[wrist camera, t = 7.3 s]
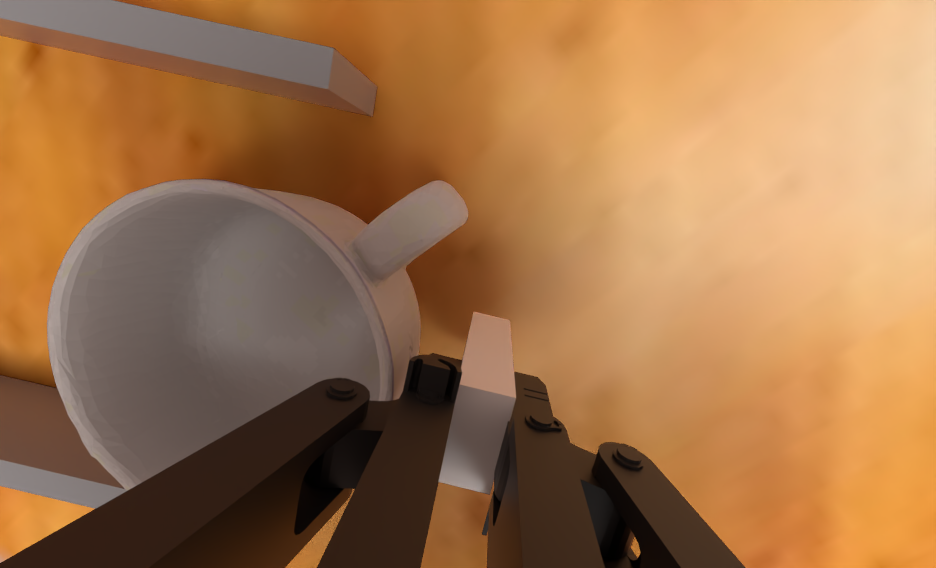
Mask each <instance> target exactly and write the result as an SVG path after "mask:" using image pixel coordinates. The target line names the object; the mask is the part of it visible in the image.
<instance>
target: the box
mask: <svg viewBox="0 0 936 568" xmlns="http://www.w3.org/2000/svg"><path fill="white" fill-rule="evenodd" d="M0 35H1V36H5V37H10V38H14V39H19V40H24V41H28V42H33V43H37V44H42V45H46V46H51V47H56V48H60V49H65V50H69V51H74V52H79V53H83V54H88V55H92V56H97V57H101V58H106V59H111V60H115V61H120V62H124V63H129V64H134V65H138V66H143V67H147V68H152V69H156V70H161V71H166V72H170V73H175V74H179V75H184V76H189V77H193V78H198V79H202V80H207V81H212V82H216V83H221V84H225V85H230V86H234V87H239V88H244V89H248V90H253V91H257V92H262V93H267V94H271V95H276V96H280V97H285V98H289V99H294V100H299V101H303V102H308V103H312V104H317V105H322V106H326V107H331V108H335V109H340V110H344V111H349V112H354V113H358V114H363V115H367V116H372V117H373V111H374V105H375V98H376V92H377V86H376V85H375V84H374V83H373V82H371V81H370V80H369V79H368V78H367V77H366V76H365V75H364V74H362V73H361V72H360V71H359V70H358V69H357V68H356V67H355V66H353V65H352V64H351V63H350V62H349V61H348V60H347V59H346V58H345V57H343V56H342V55H341V54H340V53H339V52H338V51H337V50H336V49H334V48H332V47H327V46H322V45H318V44H313V43H308V42H304V41H299V40H294V39H290V38H285V37H280V36H276V35H271V34H267V33H262V32H257V31H253V30H248V29H243V28H239V27H234V26H229V25H225V24H220V23H216V22H211V21H206V20H202V19H197V18H192V17H188V16H183V15H178V14H174V13H169V12H164V11H160V10H155V9H151V8H146V7H141V6H137V5H132V4H127V3H123V2H118V1H113V0H0ZM0 486H3V487H7V488H11V489H15V490H20V491H24V492H28V493H32V494H36V495H41V496H45V497H49V498H53V499H57V500H62V501H66V502H70V503H74V504H78V505H83V506H87V507H91V508H95V509H96V508H98V507H100V506H101V505H103V504H105V503H107V502H108V501H110V500H112V499H114V498H115V497H117V496H119V495H121V494H123V493H124V492H126V491H127V490H126V489H125V488H124V487H123V486H122V485H121V484H120V483H119V482H118V481H117V480H116V479H115V478H114V477H113V476H112V475H111V474H110V473H109V472H108V471H107V470H106V469H105V468H104V467H103V466H102V465H101V464H100V462H99V461H98V460H97V459H96V458H94V457H92V456H91V455H90V453H89V452H88V450H87V448H86V447H85V445H84V444H83V442H82V440H81V438H80V435H79V433H78V431H77V429H76V427H75V426H74V424H73V423H72V421H71V419H70V418H69V416H68V414H67V411H66V408H65V406H64V403H63V401H62V398H61V396H60V394H59V391H58V389H57V388H53V387H49V386H45V385H40V384H36V383H32V382H27V381H23V380H19V379H15V378H10V377H6V376H2V375H0Z"/></svg>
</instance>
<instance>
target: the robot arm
mask: <svg viewBox="0 0 936 568" xmlns="http://www.w3.org/2000/svg"><path fill="white" fill-rule="evenodd" d="M547 394H548V393H547V389H546V386H545V385H544V383H543V382H542V381H541V380H540V379H539V378H538V377H534V376H530V375H526V374H522V373H518V372H514V364H513V352H512V339H511V327H510V320H508V319H503V318H499V317H495V316H491V315H487V314H482V313H478V312H473V316H472V321H471V325H470V329H469V333H468V337H467V342H466V346H465V350H464V354H463V358H462V360H458V359H454V358H450V357H446V356H442V355H438V354H434V353H432V354H430V355H418V356H414V357H412V358H411V359H410V360H409V364H408V369H407V374H406V378H405V383H404V388H403V392H402V394H401V396H400V398H399V399H396V400H391V401H371V400H370V391H369V390H368V389H367V388H366V387H365V386H364V385H362V384H361V383H359V382H357V381H353V380H350V379H347V378H343V379H342V378H333V379H325V380H323V381H320V382H317V383H316V384H314V385H312V386H310V387H308V388H307V389H305V390H303V391H301V392H300V393H298V394H296V395H294V396H293V397H291V398H289V399H287V400H286V401H284V402H282V403H280V404H279V405H277V406H275V407H273V408H272V409H270V410H268V411H266V412H265V413H263V414H261V415H259V416H258V417H256V418H254V419H252V420H251V421H249V422H247V423H245V424H244V425H242V426H240V427H238V428H237V429H235V430H233V431H231V432H230V433H228V434H226V435H224V436H223V437H221V438H219V439H217V440H216V441H214V442H212V443H210V444H208V445H207V446H205V447H203V448H201V449H200V450H198V451H196V452H194V453H193V454H191V455H189V456H187V457H186V458H184V459H182V460H180V461H179V462H177V463H175V464H173V465H172V466H170V467H168V468H166V469H165V470H163V471H161V472H159V473H158V474H156V475H154V476H152V477H151V478H149V479H147V480H145V481H144V482H142V483H140V484H138V485H137V486H135V487H133V488H131V489H130V490H128V491H126V492H124V493H123V494H121V495H119V496H117V497H115V498H114V499H112V500H110V501H108V502H107V503H105V504H103V505H101V506H100V507H98V508H96V509H94V510H93V511H91V512H89V513H87V514H86V515H84V516H82V517H80V518H79V519H77V520H75V521H73V522H72V523H70V524H68V525H66V526H65V527H63V528H61V529H59V530H58V531H56V532H54V533H52V534H51V535H49V536H47V537H45V538H44V539H42V540H40V541H38V542H37V543H35V544H33V545H31V546H30V547H28V548H26V549H24V550H22V551H21V552H19V553H17V554H15V555H14V556H12V557H10V558H8V559H7V560H5V561H3V562H1V563H0V568H285V567H286V566H287V565H288V564H289V563H290V561H291V560H292V559H293V558H294V557H295V556H296V555H297V554H298V553H299V552H300V551H301V550H302V548H303V547H304V546H305V545H306V544H307V543H308V542H309V541H310V540H311V539H312V538H313V537H314V535H315V534H316V533H317V532H318V531H319V530H320V529H321V528H322V527H323V526H324V525H325V523H326V522H327V521H328V520H329V519H330V518H331V517H332V516H333V515H334V514H335V513H336V512H337V510H338V509H339V508H340V507H341V506H342V505H343V504H344V503H345V502H346V501H347V500H348V498H349V496H350V494H351V493H352V489H355V490H354V492H353V495H352V497H351V499H350V501H349V503H348V505H347V507H346V509H345V511H344V513H343V515H342V517H341V519H340V521H339V523H338V525H337V527H336V530H335V532H334V534H333V536H332V538H331V540H330V542H329V544H328V546H327V548H326V550H325V552H324V554H323V556H322V558H321V560H320V563H319V565H318V567H317V568H420V567H421V562H422V557H423V553H424V548H425V543H426V538H427V534H428V529H429V524H430V519H431V515H432V510H433V505H434V500H435V496H436V491H437V486H438V482H441V483H445V484H449V485H453V486H457V487H461V488H465V489H469V490H473V491H477V492H481V493H485V494H489V495H490V492H491V489H492V485H493V481H494V491H493V495H492V499H491V502H490V506H489V510H488V513H487V517H486V521H485V524H484V528H483V531H482V535H487V532H488V551H487V568H745V567H744V565H743V564H742V563H741V562H740V561H739V560H738V559H737V557H736V556H735V555H734V554H733V553H732V552H731V551H730V549H729V548H728V547H727V546H726V545H725V544H724V543H723V542H722V540H721V539H720V538H719V537H718V536H717V535H716V534H715V532H714V531H713V530H712V529H711V528H710V527H709V526H708V524H707V523H706V522H705V521H704V520H703V519H702V518H701V517H700V515H699V514H698V513H697V512H696V511H695V510H694V509H693V507H692V506H691V505H690V504H689V503H688V502H687V501H686V499H685V498H684V497H683V496H682V495H681V494H680V493H679V491H678V490H677V489H676V488H675V487H674V486H673V485H672V484H671V482H670V481H669V480H668V479H667V478H666V477H665V476H664V474H663V473H662V472H661V471H660V470H659V469H658V468H657V466H656V465H655V464H654V463H653V462H652V461H651V460H650V459H649V458H647V457H646V456H645V455H644V454H642V453H640V452H639V451H637V449H635V448H633V447H631V446H630V447H629V446H628V445H626V444H619V443H614V442H606V443H603V444H601V445H600V446H599V449H598V452H597V455H595V454H593V453H590V452H588V451H586V450H583V449H581V448H579V447H577V446H575V445H573V444H572V443H570V441H569V437H568V434H567V430H566V428H565V427H564V425H563V424H562V423H561V422H560V421H559V420H558V419H556V418H554V417H553V415H552V410H551V406H550V402H549V398H548V395H547ZM634 537H636V539H637V542H638V544H639V547H640V552H641V553H640V556H639V557H638V558H637V557H636V555H635V554H634V552H633V551H632V549H631V545H632V542H633V539H634Z"/></svg>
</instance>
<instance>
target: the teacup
mask: <svg viewBox="0 0 936 568" xmlns="http://www.w3.org/2000/svg"><path fill="white" fill-rule="evenodd" d="M467 219H468V209H467V207H466V204H465V202H464V200H463V198H462V197H461V196H460V195H459V193H458V192H457V191H456V190H455V189H454V187H453V186H452V185H450V184H448V183H446V182H445V181H441V180H437V181H432V182H430V183H428V184H426V185H424V186H422V187H420V188H418V189H416V190H414V191H413V192H411V193H410V194H408V195H407V196H405V197H404V198H402V199H401V200H399V201H398V202H396V203H395V204H394V205H392V206H391V207H389V208H388V209H387V210H385V211H384V212H382V213H381V214H380V215H379V216H377V217H376V218H375V219H374V220H373V221H372V222H371V223H369V224H366V223H365V222H364V221H362V220H361V219H360V218H358V217H357V216H355V215H354V214H352V213H350V212H348V211H346V210H344V209H342V208H340V207H338V206H336V205H334V204H331V203H328V202H325V201H322V200H319V199H316V198H313V197H309V196H305V195H299V194H293V193H287V192H282V191H275V190H266V189H257V188H251V187H248V186H244V185H241V184H237V183H232V182H228V181H224V180H212V179H189V180H175V181H168V182H163V183H160V184H156V185H153V186H150V187H147V188H144V189H141V190H138V191H135V192H133V193H130V194H127V195H125V196H123V197H122V198H120V199H118V200H117V201H115V202H114V203H112V204H110V205H109V206H107V207H106V208H105V209H103V210H102V211H101V212H100V213H98V214H97V215H96V216H95V217H94V218H93V219H92V220H91V221H90V222H89V223H88V224H87V225H86V226H85V227H84V228H83V229H82V230H81V231H80V233H79V234H78V236H77V237H76V238H75V240H74V241H73V243H72V245H71V246H70V248H69V249H68V251H67V253H66V255H65V257H64V259H63V261H62V263H61V265H60V268H59V270H58V273H57V276H56V278H55V281H54V284H53V287H52V292H51V298H50V303H49V307H48V320H47V336H48V348H49V358H50V362H51V367H52V371H53V375H54V379H55V383H56V386H57V389H58V391H59V394H60V396H61V398H62V401H63V403H64V406H65V408H66V411H67V414H68V416H69V418H70V419H71V421H72V423H73V424H74V426H75V427H76V429H77V431H78V433H79V435H80V438H81V440H82V442H83V444H84V445H85V447H86V448H87V450H88V452H89V453H90V455H91V456H92V457H94V458H96V459H97V460H98V461H99V462H100V464H101V465H102V466H103V467H104V468H105V469H106V470H107V471H108V472H109V473H110V474H111V475H112V476H113V477H114V478H115V479H116V480H117V481H118V482H119V483H120V484H121V485H122V486H123V487H124V488H125V489H126V490H127V491H128V490H130V489H131V488H133V487H135V486H137V485H138V484H140V483H142V482H144V481H145V480H147V479H149V478H151V477H152V476H154V475H156V474H158V473H159V472H161V471H163V470H165V469H166V468H168V467H170V466H172V465H173V464H175V463H177V462H179V461H180V460H182V459H184V458H186V457H187V456H189V455H191V454H193V453H194V452H196V451H198V450H200V449H201V448H203V447H205V446H207V445H208V444H210V443H212V442H214V441H216V440H217V439H219V438H221V437H223V436H224V435H226V434H228V433H230V432H231V431H233V430H235V429H237V428H238V427H240V426H242V425H244V424H245V423H247V422H249V421H251V420H252V419H254V418H256V417H258V416H259V415H261V414H263V413H265V412H266V411H268V410H270V409H272V408H273V407H275V406H277V405H279V404H280V403H282V402H284V401H286V400H287V399H289V398H291V397H293V396H294V395H296V394H298V393H300V392H301V391H303V390H305V389H307V388H308V387H310V386H312V385H314V384H316V383H317V382H320V381H323V380H325V379H333V378H342V379H343V378H347V379H350V380H353V381H357V382H359V383H361V384H362V385H364V386H365V387H366V388H367V389H368V390H369V391H370V400H371V401H391V400H396V399H399V398H400V396H401V394H402V392H403V388H404V383H405V378H406V374H407V369H408V364H409V360H410V359H411V358H412V357H414V356H418V353H419V349H420V336H421V321H420V313H419V306H418V301H417V298H416V294H415V291H414V288H413V285H412V283H411V280H410V277H409V276H408V274H407V272H406V266H407V265H409V264H410V263H411V262H412V261H413V260H414V259H416V258H417V257H418V256H420V255H421V254H423V253H424V252H425V251H427V250H428V249H429V248H431V247H432V246H434V245H435V244H436V243H438V242H439V241H440V240H442V239H443V238H445V237H446V236H448V235H449V234H451V233H452V232H454V231H455V230H456V229H458V228H459V227H460V226H462V225H463V224H465V222H466V221H467Z"/></svg>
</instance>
